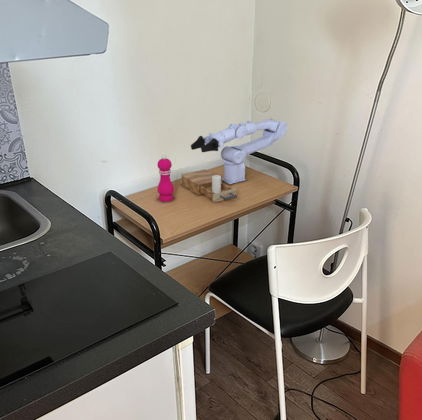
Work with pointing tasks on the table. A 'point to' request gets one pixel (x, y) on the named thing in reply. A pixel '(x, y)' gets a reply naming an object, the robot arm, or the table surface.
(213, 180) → the spice jar
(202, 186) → the drawer
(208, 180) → the cabinet
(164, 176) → the pepper mill
